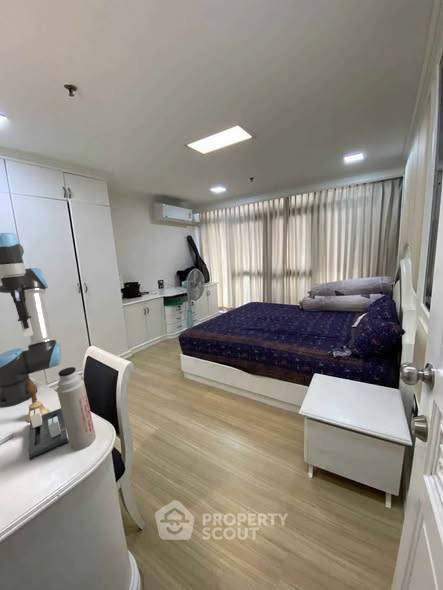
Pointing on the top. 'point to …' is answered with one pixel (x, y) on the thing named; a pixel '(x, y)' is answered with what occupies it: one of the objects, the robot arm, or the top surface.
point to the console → (46, 436)
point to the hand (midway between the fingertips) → (28, 335)
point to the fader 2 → (54, 427)
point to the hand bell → (35, 401)
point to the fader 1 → (36, 418)
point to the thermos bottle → (75, 409)
